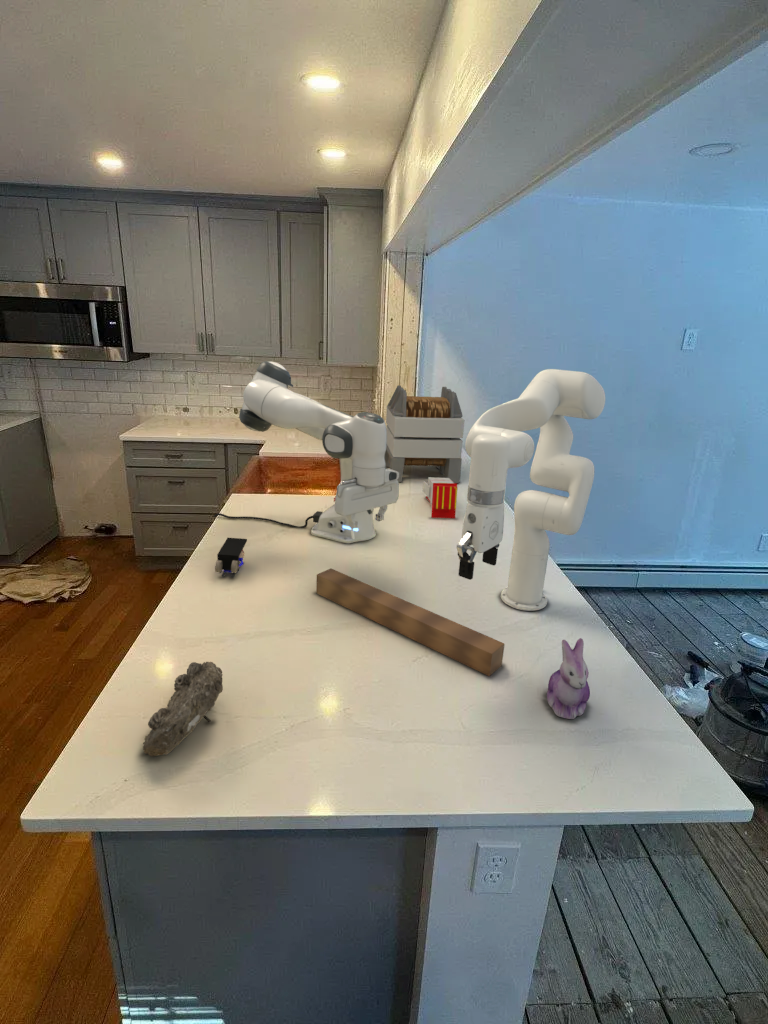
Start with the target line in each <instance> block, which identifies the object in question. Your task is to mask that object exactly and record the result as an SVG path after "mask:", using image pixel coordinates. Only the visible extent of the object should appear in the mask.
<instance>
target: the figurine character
mask: <svg viewBox="0 0 768 1024" xmlns="http://www.w3.org/2000/svg"><path fill="white" fill-rule="evenodd" d="M247 542H248V538H240V537H226V539H225V541H224V543H223V544H222V546H221V547H220V549H219V551H218V552H217V560H216V562H215V564H214V572H215V573H221V577H222V578H224V577H225V576H226V574H227V573H230V574H231V573H232V574H231V578H234V577H235V575H236V573H237V572H239V571H240V567H242V566H243V565H244V564H245V562H244V558H245V551H244V547H245V546H246V544H247Z"/></svg>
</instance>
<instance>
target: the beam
mask: <svg viewBox="0 0 768 1024" xmlns="http://www.w3.org/2000/svg"><path fill="white" fill-rule="evenodd" d="M315 576H316V578H315V579H316V581H315V582H316V583H315V584H316V585H315V587H316V591H315V593H316V594H317V595H319V596H321V597H323V598H325V599H327V600H330V601H331V602H334V603H336V604H338V605H339V606H342V607H344V608H346V609H348V610H350V611H352V612H354V613H357V614H359V615H360V616H362V617H364V618H367V619H369V620H371V621H373V622H375V623H377V624H379V625H382V626H384V627H385V628H387V629H389V630H392V631H393V632H396V633H397V634H400V635H402V636H404V637H406V638H409V639H410V640H412V641H415V642H417V643H419V644H421V645H423V646H425V647H427V648H429V649H431V650H433V651H435V652H437V653H440V654H441V655H443V656H445V657H448V658H450V659H452V660H454V661H456V662H458V663H460V664H462V665H465V666H467V667H469V668H470V669H473V670H475V671H477V672H479V673H481V674H483V675H485V676H487V677H491V676H492V675H493V674H494V673H495V672H496V671H497V670H499V669H500V668H501V667H502V666H503V660H504V659H503V658H504V652H505V645H506V644H505V643H504V642H502V641H500V640H498V639H496V638H493V637H490V636H489V635H486V634H484V633H481V632H480V631H477V630H474V629H473V628H470V627H467V626H465V625H464V624H461V623H458V622H456V621H453V620H452V619H449V618H448V617H444V616H442V615H440V614H437V613H436V612H433V611H430V610H428V609H426V608H423V607H422V606H419V605H417V604H414V603H412V602H410V601H407V600H405V599H404V598H400V597H399V596H396V595H394V594H392V593H389V592H387V591H384V590H382V589H379V588H377V587H375V586H373V585H371V584H368V583H366V582H364V581H361V580H359V579H357V578H354V577H352V576H350V575H348V574H346V573H343V572H340V571H338V570H336V569H334V568H328V569H326V570H323V571H321V572H319V573H317V574H316V575H315Z"/></svg>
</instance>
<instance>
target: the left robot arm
mask: <svg viewBox="0 0 768 1024" xmlns="http://www.w3.org/2000/svg"><path fill="white" fill-rule="evenodd" d="M289 386H290V387H292V388H294V384H292V377H291V374H290V371H288V370H287V369H286V367H285V366H284V365H282V364H281V363H278V362H276V361H267V360H265V361H262V362H260V364H259V365H258V367H257V368H256V372H255V374H254V375H253V377H252V379H251V381H250V382H248V384H247V385H246V386H245V388H244V390H243V394H242V399H243V402H242V406H241V408H240V409H239V413H238V414H239V415H238V418H239V421H240V423H241V424H243V426H244V427H245V428H246V429H248V430H250V431H254V432H261V433H264V432H266V431H268V430H269V429H270V428H271V427H272V426H275V427H278V428H281V429H285V430H292V429H295V430H297V431H298V432H299V431H300V432H301V433H304V434H306V435H308V436H310V437H312V438H314V439H316V440H319V441H321V442H322V447H323V449H324V452H325V453H326V454H327V455H328V456H329V457H331V458H333V459H338V460H339V469H340V483H339V484H338V485H337V487H336V492H335V493H336V494H335V496H334V497H333V502H334V504H333V505H331V506H329V507H328V508H326V509H325V510H323V511H321V510H317V511H316V512H314V514H312V515H310V516H308V517H307V518H306V519H305V521H304V525H301V526H299V525H294V524H290V523H286V522H281V521H279V520H276V519H275V520H274V519H271V518H265V517H257V516H229V515H226V514H224V513H221V512H219V513H215V514H214V515H213V518H216V517H217V516H220V517H223V518H226V519H231V520H260V521H264V522H271V523H274V524H278V525H280V526H285V527H290V528H296V529H305V528H307V527H308V521H309V520H311V519H312V523H315V524H314V525H313V526H312V528H311V530H310V533H311V536H315V537H319V538H323V539H326V540H330V541H336V542H339V543H343V544H352V543H357V542H365V541H368V540H372V539H373V538H375V537H376V535H377V532H376V528H375V523H374V513H373V512H374V509H377V508H379V509H378V511H377V513H375V521H377V522H383V521H384V517H385V514H386V512H387V510H388V506H390V505H393V504H396V503H397V502H398V500H399V497H400V482H398V480H397V479H398V478H399V472H397V471H394V470H392V469H390V467H387V466H385V465H386V464H385V459H384V455H385V452H386V443H387V433H386V426H387V424H386V420H385V419H384V418H383V417H382V416H381V415H380V414H377V413H374V412H368V411H362V412H361V411H360V412H358V413H356V414H355V415H351V414H349V413H346V412H343V411H342V410H338V409H336V408H334V407H331V406H329V405H325V404H323V403H321V402H320V401H317V400H315V399H313V398H311V397H309V396H307V395H303V394H301V393H298V392H295V391H292V390H291V389H288V387H289Z"/></svg>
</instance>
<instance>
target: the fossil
mask: <svg viewBox="0 0 768 1024" xmlns="http://www.w3.org/2000/svg"><path fill="white" fill-rule="evenodd" d="M173 685H174V686H173V687H174V688H173V689H174V692H173V694H172V696H171V697H170V699H169V701H168V702H167V708H166V707H161V708H159V709H158V710H157V711H156V712H154V713H153V715H152V716H151V717H150V718H149V720H148V722H147V726H148V727H149V728H150V729H151V730H150V731H149V733H148V734H147V735H145V737H144V742H142V749H143V752H144V754H146V755H149V756H150V757H156V756H161V755H162V756H163V755H166V756H167V755H169V754H170V753H171V752H172V751H173V750H174V749H175V748H176V747H177V746H179V745H180V744H181V743H182V741H183V740H184V739H186V738H187V736H189V735H190V734H191V733H192V732H194V730H195V728H196V727H197V725H198V724H199V723H200V722H201V721H202V720H205V721H206V722H207V723H211V722H212V720H211V719H210V718H209V717H208V716H207V715H206V714H207V712H209V711H211V710H212V708H213V707H214V706H215V704H216V702H217V699H218V698H219V695H220V694H221V693H222V692H223V690H224V688H223V687H224V686H223V671H222V669H221V667H219V666H217V664H216V663H214V662H213V661H204V662H202V663H200V662H195V661H193V662H190V664H189V665H188V667H187V668H186V673H183V674H179V675H178V676H177V677H176V678H175V679H174V684H173Z"/></svg>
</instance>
